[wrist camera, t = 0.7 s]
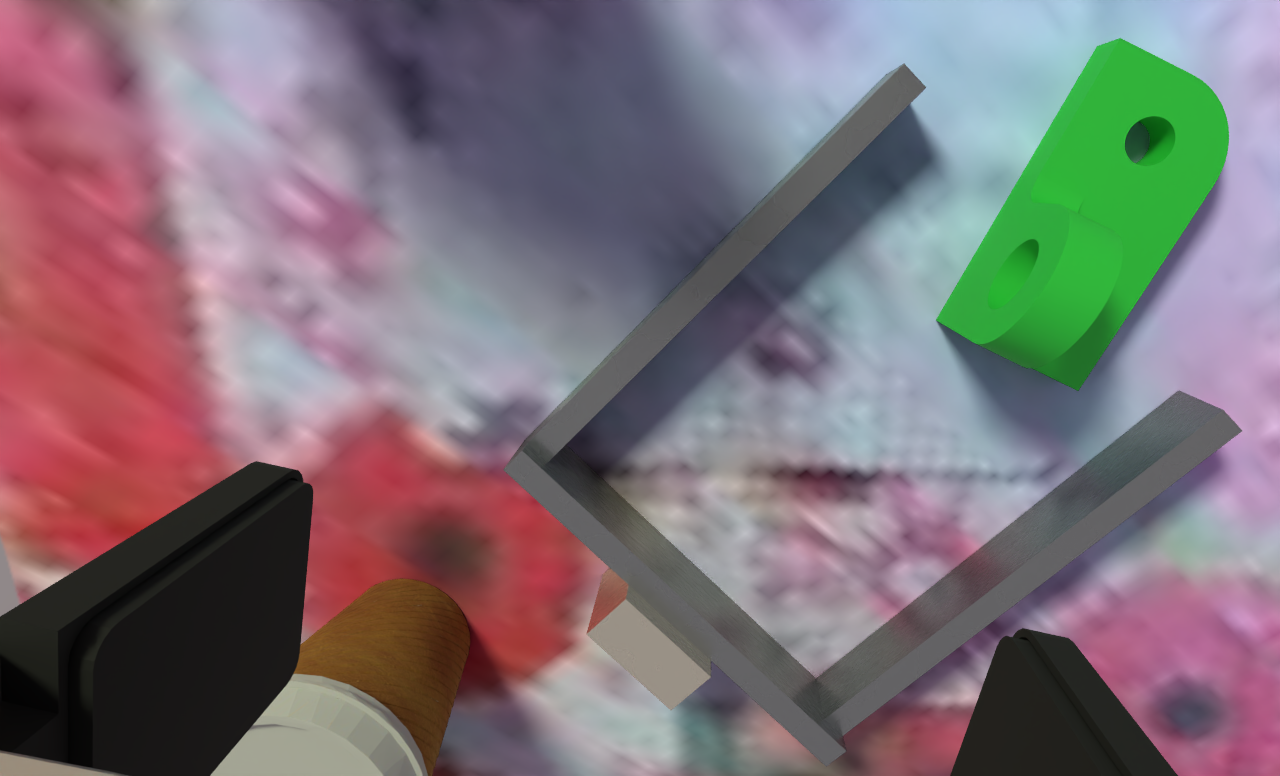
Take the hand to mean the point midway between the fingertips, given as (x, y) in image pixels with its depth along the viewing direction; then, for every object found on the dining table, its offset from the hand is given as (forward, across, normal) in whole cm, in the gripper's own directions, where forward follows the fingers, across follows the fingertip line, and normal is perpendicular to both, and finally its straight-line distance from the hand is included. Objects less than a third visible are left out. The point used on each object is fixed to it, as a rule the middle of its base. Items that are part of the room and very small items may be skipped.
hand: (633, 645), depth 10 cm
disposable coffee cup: (+25, +10, +19) cm, 33 cm away
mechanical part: (+26, -15, -7) cm, 31 cm away
